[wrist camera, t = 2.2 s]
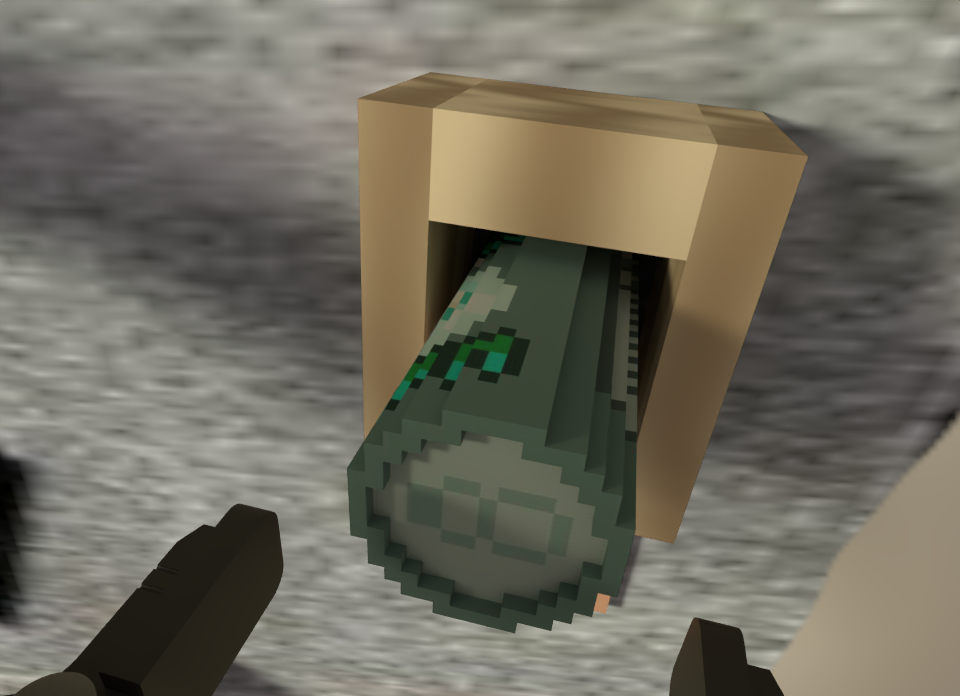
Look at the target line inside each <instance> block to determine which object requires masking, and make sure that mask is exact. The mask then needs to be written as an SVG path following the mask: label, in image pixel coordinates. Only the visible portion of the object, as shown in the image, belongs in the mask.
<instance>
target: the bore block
mask: <svg viewBox="0 0 960 696" xmlns="http://www.w3.org/2000/svg"><path fill="white" fill-rule="evenodd" d="M358 142H359V193H360V245H361V296H362V347H363V398H364V440H365V439H366V437H367V436H368V434H369V432H370V431H371V429H372V428H373V426H374V424H375V423H376V421H377V420H378V418H379V416H380V415H381V413H382V412H383V410H384V408H385V407H386V405H387V404H388V402H389V400H390V399H391V397H392V396H393V394H394V392H395V391H396V389H397V388H398V386H399V384H400V383H401V381H402V380H403V378H404V376H405V375H406V373H407V372H408V370H409V368H410V367H411V365H412V364H413V362H414V360H415V359H416V357H417V356H418V354H419V352H420V351H421V349H422V348H423V346H424V344H425V343H426V341H427V340H428V338H429V336H430V335H431V333H432V332H433V330H434V328H435V327H436V325H437V324H438V322H439V320H440V319H441V317H442V316H443V314H444V312H445V311H446V309H447V308H448V306H449V304H450V303H451V301H452V300H453V298H454V296H455V295H456V293H457V292H458V290H459V288H460V287H461V285H462V284H463V282H464V280H465V279H466V277H467V276H468V274H469V272H470V271H471V269H472V261H473V249H474V237H475V228H481V229H487V230H494V231H500V232H506V233H513V234H519V235H526V236H532V237H538V238H545V239H551V240H557V241H564V242H570V243H577V244H583V245H589V246H596V247H602V248H608V249H615V250H621V251H628V252H634V253H640V254H647V255H653V256H659V261H658V265H657V269H656V273H655V277H654V281H653V285H652V289H651V293H650V297H649V301H648V305H647V310H646V314H645V318H644V322H643V326H642V330H641V334H640V338H639V342H638V383H637V464H636V531H635V535H637V536H642V537H646V538H651V539H655V540H659V541H664V542H668V543H673V544H674V541H675V538H676V535H677V533H678V530H679V527H680V524H681V521H682V518H683V515H684V512H685V510H686V507H687V504H688V501H689V498H690V495H691V492H692V489H693V487H694V484H695V481H696V478H697V475H698V472H699V469H700V466H701V464H702V461H703V458H704V455H705V452H706V449H707V446H708V443H709V440H710V438H711V435H712V432H713V429H714V426H715V423H716V420H717V417H718V415H719V412H720V409H721V406H722V403H723V400H724V397H725V394H726V392H727V389H728V386H729V383H730V380H731V377H732V374H733V371H734V369H735V366H736V363H737V360H738V357H739V354H740V351H741V348H742V346H743V343H744V340H745V337H746V334H747V331H748V328H749V325H750V323H751V320H752V317H753V314H754V311H755V308H756V305H757V302H758V300H759V297H760V294H761V291H762V288H763V285H764V282H765V279H766V277H767V274H768V271H769V268H770V265H771V262H772V259H773V256H774V253H775V251H776V248H777V245H778V242H779V239H780V236H781V233H782V230H783V228H784V225H785V222H786V219H787V216H788V213H789V210H790V207H791V205H792V202H793V199H794V196H795V193H796V190H797V187H798V184H799V182H800V179H801V176H802V173H803V170H804V167H805V164H806V161H807V159H808V156H807V155H806V154H805V153H804V152H803V151H802V150H801V149H800V148H799V147H798V146H797V145H796V144H795V143H794V142H793V141H792V140H791V139H790V138H789V137H788V136H787V135H786V134H785V133H784V132H782V131H781V130H780V129H779V128H778V127H777V126H776V125H775V124H774V123H773V122H772V121H771V120H770V119H769V118H768V117H767V116H766V115H765V114H764V113H763V112H759V111H751V110H742V109H734V108H726V107H717V106H709V105H700V104H692V103H684V102H675V101H667V100H658V99H650V98H641V97H633V96H625V95H616V94H608V93H599V92H591V91H583V90H574V89H566V88H557V87H549V86H541V85H532V84H524V83H515V82H507V81H499V80H490V79H482V78H473V77H465V76H456V75H448V74H440V73H431V72H430V73H427V74H424V75H422V76H419V77H416V78H413V79H411V80H408V81H405V82H402V83H400V84H397V85H394V86H391V87H388V88H386V89H383V90H380V91H377V92H375V93H372V94H369V95H366V96H364V97H361V98H358Z"/></svg>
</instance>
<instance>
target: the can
mask: <svg viewBox="0 0 960 696" xmlns="http://www.w3.org/2000/svg"><path fill="white" fill-rule="evenodd" d="M638 303H639V258H638V257H632V252H628V251H621V250H615V249H608V248H602V247H596V246H589V245H583V244H577V243H570V242H564V241H557V240H551V239H545V238H538V237H532V236H526V235H519V234H513V233H506V232H500V231H495V233H494V235H493V236H492V237H491V239H490V240H489V242H488V244H487V245H486V247H485V248H484V250H483V252H482V253H481V255H480V256H479V258H478V260H477V261H476V263H475V264H474V266H473V268H472V269H471V271H470V272H469V274H468V276H467V277H466V279H465V280H464V282H463V284H462V285H461V287H460V288H459V290H458V292H457V293H456V295H455V296H454V298H453V300H452V301H451V303H450V304H449V306H448V308H447V309H446V311H445V312H444V314H443V316H442V317H441V319H440V320H439V322H438V324H437V325H436V327H435V328H434V330H433V332H432V333H431V335H430V336H429V338H428V340H427V341H426V343H425V344H424V346H423V348H422V349H421V351H420V352H419V354H418V356H417V357H416V359H415V360H414V362H413V364H412V365H411V367H410V368H409V370H408V372H407V373H406V375H405V376H404V378H403V380H402V381H401V383H400V384H399V386H398V388H397V389H396V391H395V392H394V394H393V396H392V397H391V399H390V400H389V402H388V404H387V405H386V407H385V408H384V410H383V412H382V413H381V415H380V416H379V418H378V420H377V421H376V423H375V424H374V426H373V428H372V429H371V431H370V432H369V434H368V436H367V437H366V439H365V440H364V442H363V444H362V445H361V447H360V448H359V450H358V452H357V453H356V455H355V456H354V458H353V460H352V461H351V463H350V464H349V466H348V468H347V477H348V495H349V514H350V533H351V535H352V536H356V537H360V538H365V539H367V546H368V563H369V564H373V565H378V566H382V567H384V574H385V579H388V580H392V581H396V582H400V583H401V594H404V595H408V596H412V597H416V598H420V599H424V600H428V601H432V602H433V613H436V614H440V615H444V616H448V617H452V618H456V619H460V620H464V621H468V622H472V623H476V624H480V625H484V626H488V627H492V628H496V629H500V630H504V631H508V632H512V633H515V630H516V625H517V623H521V624H525V625H529V626H533V627H537V628H541V629H545V630H549V631H551V629H552V624H553V620H556V621H560V622H564V623H568V624H571V623H572V618H573V614H574V613H577V614H581V615H585V616H590V617H592V615H593V611H594V607H595V603H596V599H597V595H598V593H599V594H604V595H608V596H612V597H617V596H618V592H619V589H620V585H621V581H622V578H623V574H624V571H625V567H626V564H627V560H628V556H629V553H630V549H631V546H632V542H633V539H634V535H635V531H636V464H637V383H638Z"/></svg>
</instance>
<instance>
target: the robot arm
mask: <svg viewBox="0 0 960 696" xmlns="http://www.w3.org/2000/svg"><path fill="white" fill-rule="evenodd" d="M282 573H283V555H282V548H281V540H280V532H279V525H278V518H277V515H276V513H274V512H272V511H268V510H264V509H260V508H255V507H251V506H247V505H243V504H236V505H234V506H233V507H232V508H231V509H230V510H229V511H228V512H227V513H226V514H225V516H224V517H223V518H222V519H221V521H220V522H219V523H218V524H217V525H216V527H212V526H208V525H202V526H201V527H199V528H198V529H196V530H195V531H193V532H191V533H190V534H188V535H187V536H185V537H184V538H182V539H181V540H179V541H178V542H177V543H176V544H175V545H174V546H173V547H172V549H171V550H170V551H169V552H168V553H167V554H166V556H165V557H164V558H163V559H162V560H161V561H160V562H159V564H158V567H157V569H153V571H152V572H151V573H150V574H149V575H148V576H147V578H146V579H145V580H144V581H143V582H142V585H141V587H140V588H137V589H136V590H135V592H134V593H133V594H132V595H131V596H130V597H129V598H128V600H127V601H126V602H125V603H124V604H123V605H122V607H121V608H120V609H119V610H118V611H117V612H116V614H115V615H114V616H113V617H112V618H111V619H110V621H109V622H108V623H107V624H106V625H105V626H104V628H103V629H102V630H101V631H100V632H99V633H98V635H97V636H96V637H95V638H94V639H93V640H92V641H91V643H90V644H89V645H88V646H87V647H86V648H85V650H84V651H83V652H82V653H81V654H80V655H79V657H78V658H77V659H76V660H75V661H74V662H73V663H72V664H71V665H70V666H69V667H68V668H66V669H65V670H64V671H63V672H59V673H54V674H50V675H47V676H45V677H42V678H40V679H37V680H35V681H33V682H31V683H30V684H28V685H27V686H25V687H23V688H22V689H21V690H19V691H18V692H17V693H16V694H13V695H5V696H212V694H213V693H214V691H215V690H216V688H217V686H218V685H219V683H220V682H221V680H222V678H223V677H224V675H225V674H226V672H227V670H228V669H229V667H230V666H231V664H232V662H233V661H234V659H235V658H236V656H237V654H238V653H239V651H240V650H241V648H242V646H243V645H244V643H245V641H246V640H247V638H248V637H249V635H250V633H251V632H252V630H253V629H254V627H255V625H256V624H257V622H258V621H259V619H260V617H261V616H262V614H263V613H264V611H265V609H266V608H267V606H268V605H269V603H270V601H271V600H272V598H273V596H274V595H275V593H276V591H277V589H278V586H279V584H280V581H281V577H282ZM669 696H784V695H783V693H782V691H781V689H780V688H779V686H778V684H777V682H776V680H775V679H774V677H773V675H772V673H771V672H770V670H767V669H763V668H759V667H756V666H752V665H748V664H747V658H746V652H745V645H744V639H743V635H742V632H741V630H740V629H739V628H737V627H733V626H729V625H725V624H721V623H717V622H713V621H709V620H704V619H700V618H694V619H693V620H692V623H691V625H690V627H689V630H688V632H687V635H686V637H685V640H684V642H683V645H682V647H681V650H680V652H679V655H678V657H677V660H676V662H675V665H674V668H673V672H672V677H671V683H670V693H669Z"/></svg>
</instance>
